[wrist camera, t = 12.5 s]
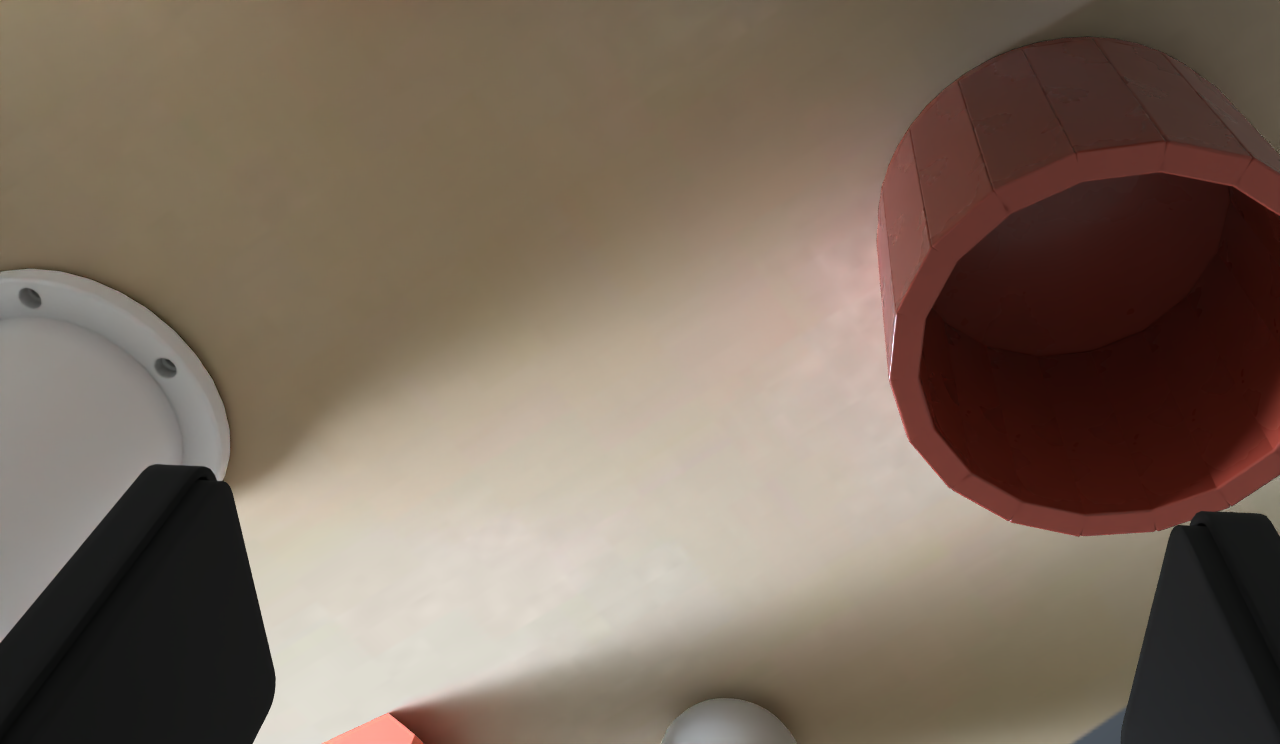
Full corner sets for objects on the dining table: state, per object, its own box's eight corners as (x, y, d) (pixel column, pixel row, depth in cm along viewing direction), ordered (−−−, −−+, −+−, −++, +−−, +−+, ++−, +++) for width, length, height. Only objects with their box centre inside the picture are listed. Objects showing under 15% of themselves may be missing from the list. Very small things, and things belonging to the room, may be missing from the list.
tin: (864, 360, 42) (873, 523, 34) (894, 29, 36) (914, 133, 28) (1203, 377, 41) (1296, 552, 33) (1293, 37, 35) (1433, 148, 27)
